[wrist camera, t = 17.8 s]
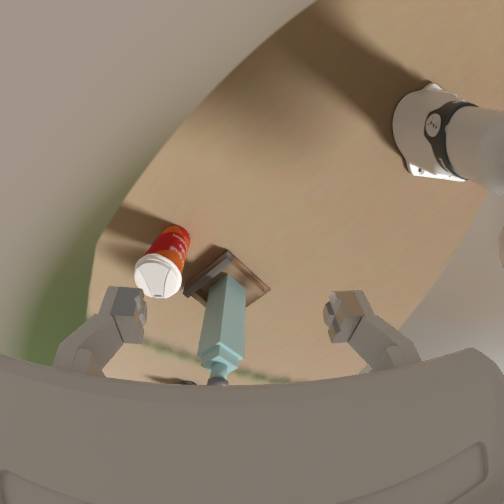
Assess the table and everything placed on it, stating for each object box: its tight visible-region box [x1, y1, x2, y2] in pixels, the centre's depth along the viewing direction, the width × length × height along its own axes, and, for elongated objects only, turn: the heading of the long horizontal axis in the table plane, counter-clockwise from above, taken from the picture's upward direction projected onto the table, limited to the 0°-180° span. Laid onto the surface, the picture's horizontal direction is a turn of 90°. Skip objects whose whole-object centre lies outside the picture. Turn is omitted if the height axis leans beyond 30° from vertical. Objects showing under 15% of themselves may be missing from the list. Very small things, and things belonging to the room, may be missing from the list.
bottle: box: [197, 274, 246, 385], centre depth 47 cm, size 5×5×24 cm
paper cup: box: [134, 225, 190, 298], centre depth 46 cm, size 8×8×14 cm
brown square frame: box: [183, 250, 271, 308], centre depth 57 cm, size 12×12×3 cm
